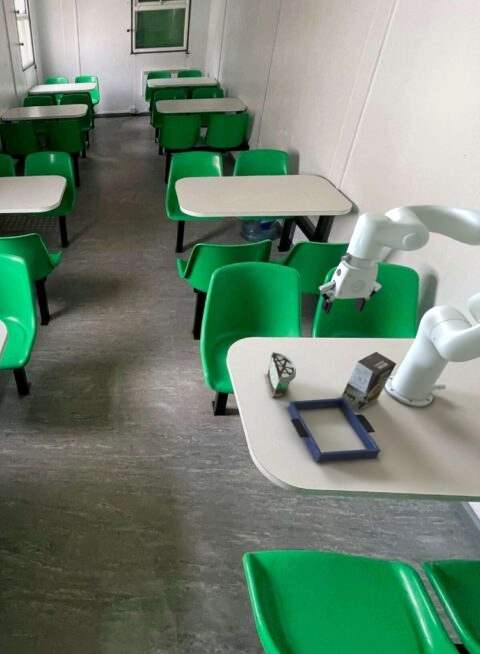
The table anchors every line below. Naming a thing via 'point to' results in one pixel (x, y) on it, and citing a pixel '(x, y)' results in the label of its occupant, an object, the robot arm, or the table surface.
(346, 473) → the table surface
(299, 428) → the roasting pan
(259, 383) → the table surface
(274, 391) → the food container
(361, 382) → the coffee box
